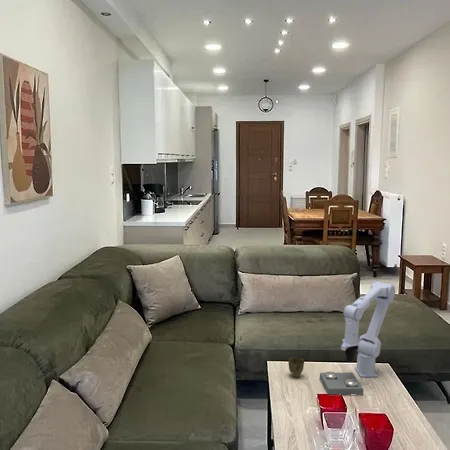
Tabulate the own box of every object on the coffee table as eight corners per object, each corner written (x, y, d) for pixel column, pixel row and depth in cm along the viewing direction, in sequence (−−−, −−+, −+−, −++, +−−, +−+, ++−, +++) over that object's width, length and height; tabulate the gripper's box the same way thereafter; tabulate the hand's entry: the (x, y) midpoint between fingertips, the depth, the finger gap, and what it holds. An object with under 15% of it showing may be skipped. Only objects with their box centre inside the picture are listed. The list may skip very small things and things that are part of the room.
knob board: (319, 378, 215) (320, 372, 215) (352, 378, 216) (352, 372, 215) (328, 395, 200) (328, 388, 200) (362, 395, 201) (363, 388, 200)
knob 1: (323, 379, 214) (323, 371, 213) (334, 379, 214) (335, 371, 213) (326, 384, 208) (326, 377, 208) (338, 384, 209) (338, 376, 208)
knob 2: (343, 386, 207) (343, 378, 206) (354, 386, 207) (355, 378, 207) (346, 392, 202) (347, 384, 201) (358, 392, 202) (359, 384, 201)
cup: (306, 375, 219) (307, 358, 217) (300, 381, 212) (300, 364, 211) (291, 371, 223) (292, 355, 221) (285, 377, 216) (285, 360, 215)
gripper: (351, 326, 216) (349, 354, 218) (335, 333, 205) (333, 363, 207) (365, 330, 211) (363, 358, 213) (350, 338, 200) (348, 368, 202)
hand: (349, 361), depth 210 cm, fingers closed
